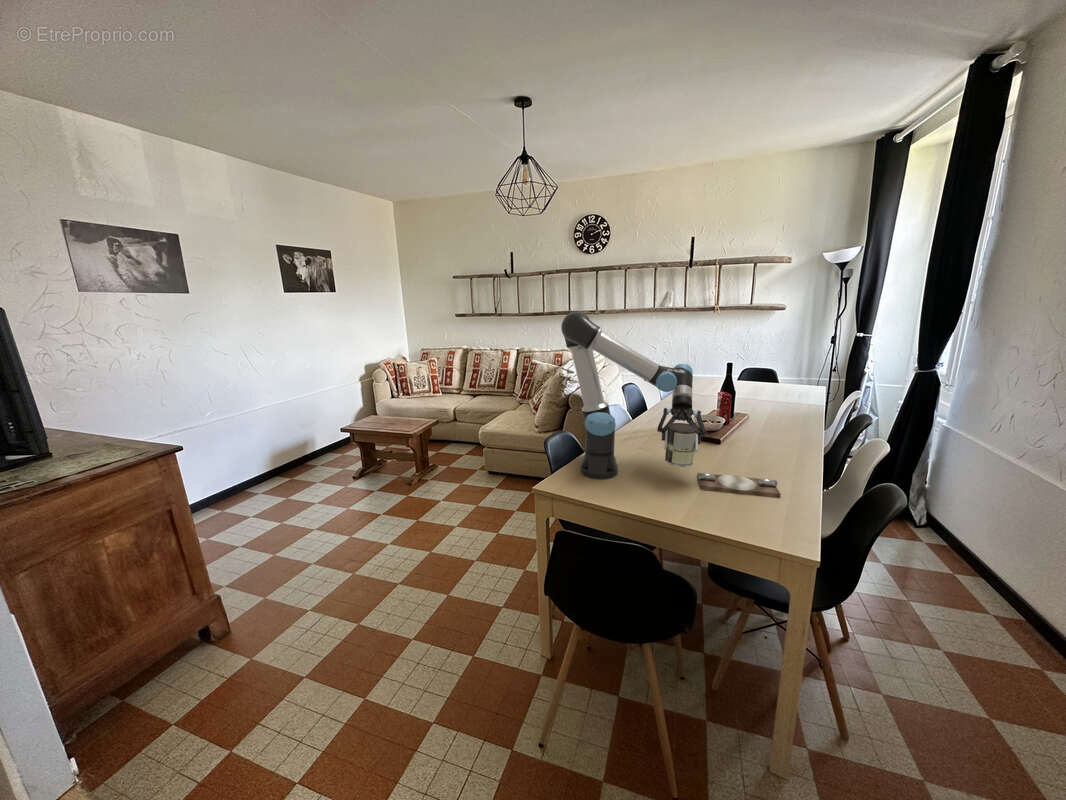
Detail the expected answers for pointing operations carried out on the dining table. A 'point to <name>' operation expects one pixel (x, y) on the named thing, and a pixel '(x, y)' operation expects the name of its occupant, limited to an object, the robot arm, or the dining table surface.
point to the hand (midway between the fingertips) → (680, 449)
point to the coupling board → (738, 485)
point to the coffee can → (680, 444)
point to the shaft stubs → (761, 481)
